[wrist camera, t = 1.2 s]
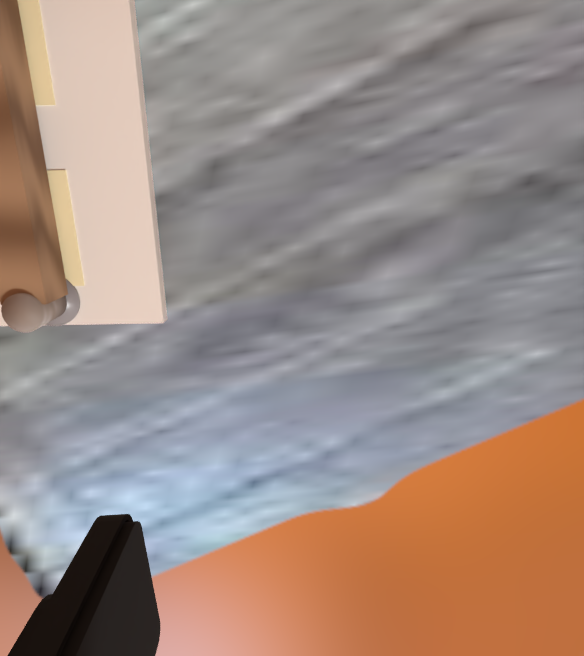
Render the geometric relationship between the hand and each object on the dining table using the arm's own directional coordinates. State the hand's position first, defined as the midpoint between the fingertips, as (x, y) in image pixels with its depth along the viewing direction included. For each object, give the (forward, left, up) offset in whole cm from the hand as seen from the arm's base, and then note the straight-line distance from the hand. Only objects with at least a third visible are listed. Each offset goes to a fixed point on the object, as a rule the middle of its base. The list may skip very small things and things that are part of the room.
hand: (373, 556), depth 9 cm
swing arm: (-10, -19, -24) cm, 32 cm away
